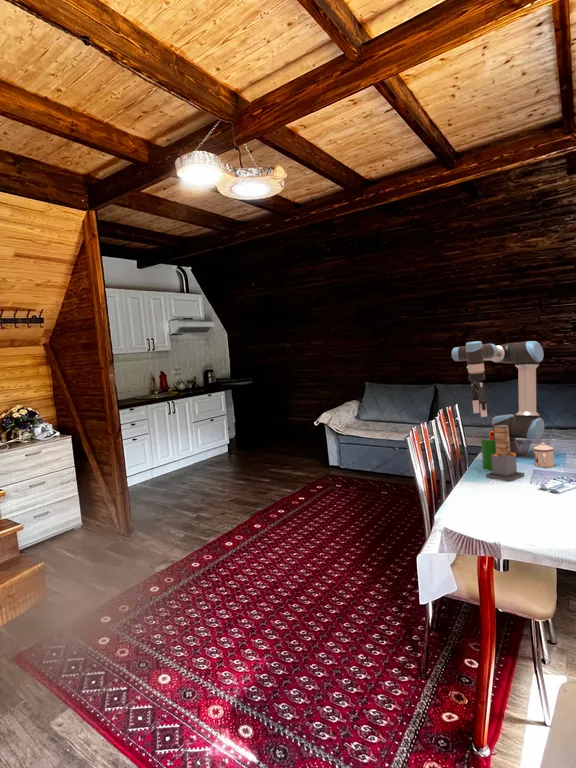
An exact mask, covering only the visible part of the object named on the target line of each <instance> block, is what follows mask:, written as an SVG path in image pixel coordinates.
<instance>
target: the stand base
mask: <svg viewBox="0 0 576 768" xmlns="http://www.w3.org/2000/svg"><path fill="white" fill-rule="evenodd" d="M491 457H492V470H493V471H490V472H489V473H486V474H485V478H487V479H492V480H493V479H494V480H499V481H504V482H508V483H509V482H513V481H515V480H517V479H520V478H524V477H525V473H524V472H519V471H518V469H517V468H518V467H517V466H518V465H517V456H516V453H513V452H510V454H507V455H501V454H500V453H492V454H491Z"/></svg>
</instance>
